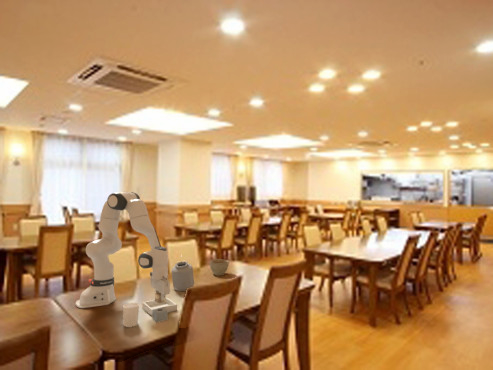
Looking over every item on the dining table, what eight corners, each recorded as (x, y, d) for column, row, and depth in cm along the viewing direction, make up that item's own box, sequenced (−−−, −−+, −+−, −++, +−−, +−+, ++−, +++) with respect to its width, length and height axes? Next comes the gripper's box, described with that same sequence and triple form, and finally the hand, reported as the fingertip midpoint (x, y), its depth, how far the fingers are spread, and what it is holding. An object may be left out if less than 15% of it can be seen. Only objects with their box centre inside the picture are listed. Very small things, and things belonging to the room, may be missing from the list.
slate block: (156, 322, 169) (156, 312, 169) (152, 318, 174) (152, 309, 174) (167, 319, 173) (167, 310, 173) (163, 316, 177) (163, 307, 178)
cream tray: (152, 316, 177) (152, 310, 177) (142, 308, 189) (142, 302, 189) (177, 310, 186) (177, 304, 186) (166, 303, 198) (166, 297, 198)
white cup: (133, 320, 171) (133, 301, 171) (141, 324, 166) (141, 305, 166) (119, 325, 165) (119, 305, 165) (127, 329, 160) (128, 309, 160)
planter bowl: (232, 273, 270) (232, 260, 271) (221, 277, 257) (221, 264, 257) (217, 270, 279) (217, 258, 279) (205, 274, 265) (205, 261, 265)
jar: (183, 295, 214) (184, 257, 214) (165, 292, 219) (165, 255, 220) (197, 287, 231) (198, 252, 232) (180, 284, 237) (181, 250, 237)
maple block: (158, 303, 184) (158, 295, 184) (154, 301, 188) (155, 293, 188) (165, 301, 187) (165, 293, 187) (162, 299, 190) (162, 291, 191)
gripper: (173, 277, 181) (172, 302, 181) (158, 270, 198) (158, 293, 197) (162, 279, 178) (162, 304, 177) (148, 272, 194) (148, 295, 193)
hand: (160, 298), depth 187 cm, fingers closed on maple block, 4 cm apart
